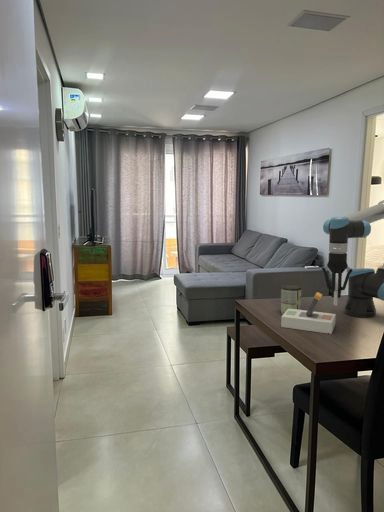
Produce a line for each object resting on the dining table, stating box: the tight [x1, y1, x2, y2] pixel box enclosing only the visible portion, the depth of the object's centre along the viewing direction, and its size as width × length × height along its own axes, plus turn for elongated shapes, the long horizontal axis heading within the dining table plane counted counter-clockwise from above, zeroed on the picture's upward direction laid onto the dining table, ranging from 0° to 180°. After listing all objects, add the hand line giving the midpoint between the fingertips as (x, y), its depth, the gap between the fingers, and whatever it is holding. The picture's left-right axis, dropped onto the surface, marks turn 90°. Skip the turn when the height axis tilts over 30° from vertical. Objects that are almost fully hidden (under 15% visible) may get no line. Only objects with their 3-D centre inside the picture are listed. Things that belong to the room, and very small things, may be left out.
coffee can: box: [280, 283, 303, 315], centre depth 197 cm, size 10×10×14 cm
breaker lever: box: [306, 291, 323, 316], centre depth 175 cm, size 3×6×11 cm, turn 153°
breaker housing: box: [280, 309, 337, 335], centre depth 177 cm, size 22×14×5 cm, turn 63°
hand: (335, 304), depth 171 cm, fingers closed
